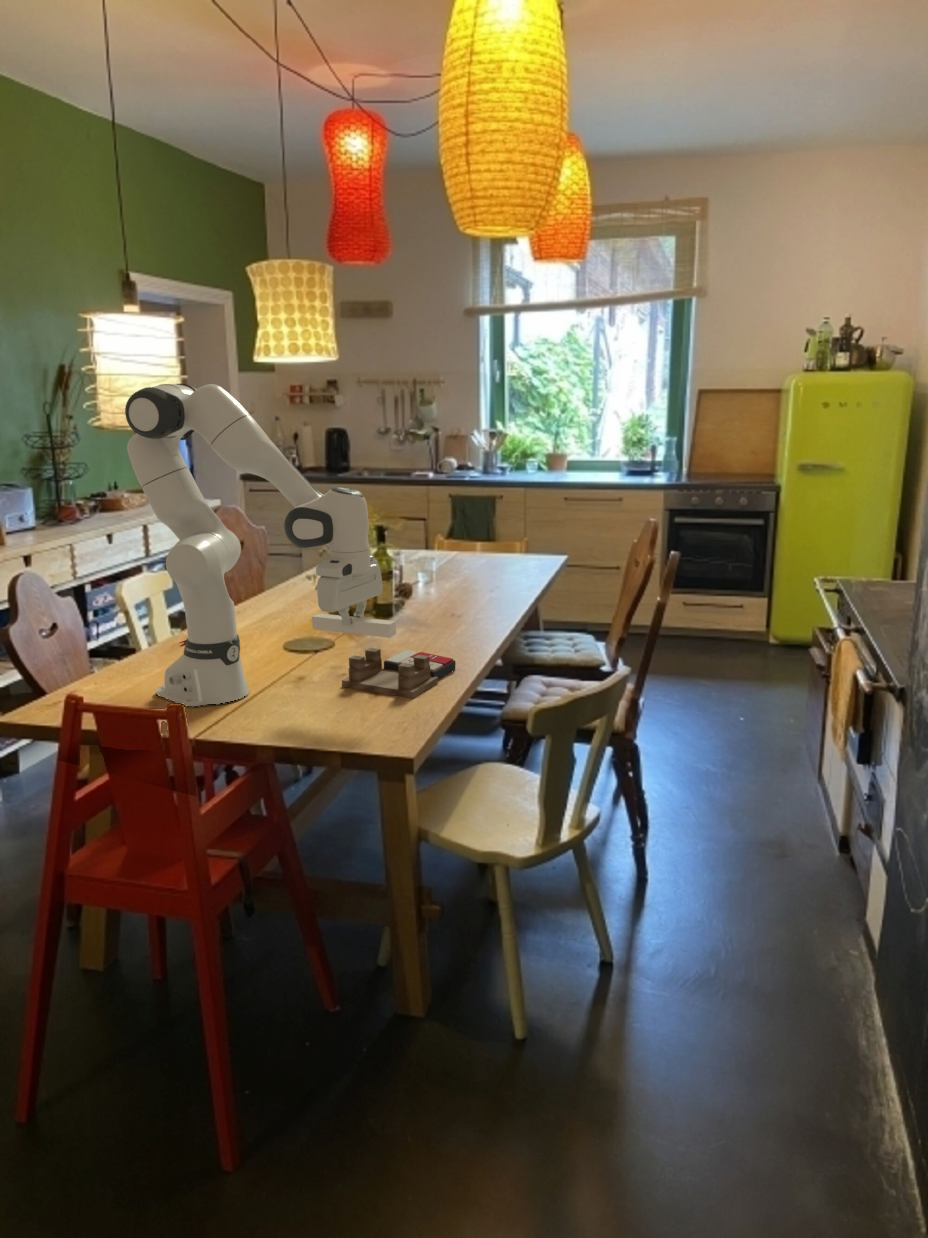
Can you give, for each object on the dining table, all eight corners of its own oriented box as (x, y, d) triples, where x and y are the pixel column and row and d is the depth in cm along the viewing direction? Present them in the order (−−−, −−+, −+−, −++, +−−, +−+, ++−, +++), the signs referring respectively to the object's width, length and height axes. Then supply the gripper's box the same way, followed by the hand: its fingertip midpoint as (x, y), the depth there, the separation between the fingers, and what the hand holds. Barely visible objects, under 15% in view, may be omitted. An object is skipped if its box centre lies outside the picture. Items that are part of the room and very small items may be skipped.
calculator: (434, 669, 215) (382, 658, 222) (433, 686, 216) (382, 674, 223) (456, 657, 224) (406, 647, 231) (455, 673, 225) (406, 662, 232)
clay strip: (312, 629, 201) (311, 616, 200) (320, 626, 204) (319, 613, 203) (389, 637, 193) (389, 624, 192) (396, 634, 196) (395, 621, 195)
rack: (342, 686, 214) (340, 658, 212) (369, 672, 224) (368, 645, 223) (412, 698, 205) (411, 669, 203) (438, 683, 215) (437, 655, 214)
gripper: (365, 552, 204) (367, 610, 208) (310, 569, 187) (314, 632, 191) (388, 555, 202) (390, 613, 205) (335, 571, 184) (338, 635, 188)
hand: (353, 622), depth 198 cm, fingers closed on clay strip, 3 cm apart
